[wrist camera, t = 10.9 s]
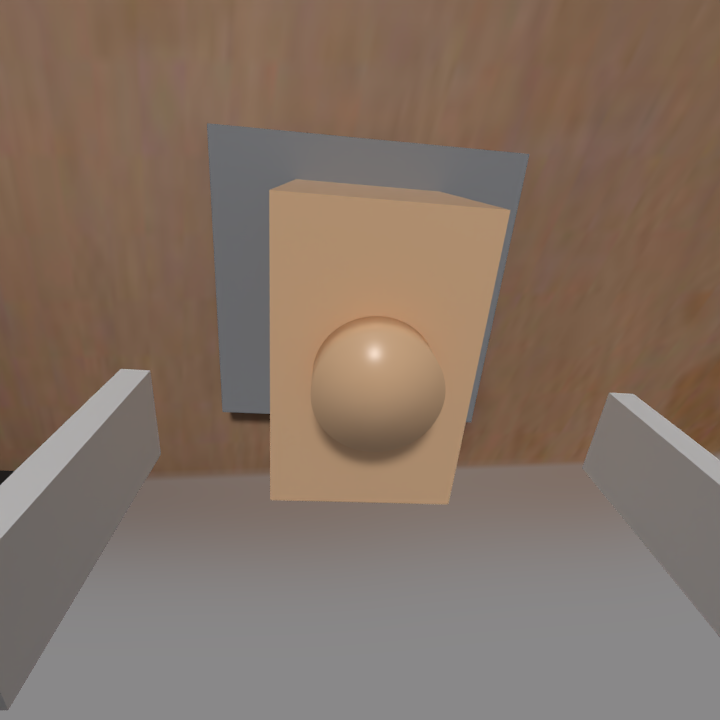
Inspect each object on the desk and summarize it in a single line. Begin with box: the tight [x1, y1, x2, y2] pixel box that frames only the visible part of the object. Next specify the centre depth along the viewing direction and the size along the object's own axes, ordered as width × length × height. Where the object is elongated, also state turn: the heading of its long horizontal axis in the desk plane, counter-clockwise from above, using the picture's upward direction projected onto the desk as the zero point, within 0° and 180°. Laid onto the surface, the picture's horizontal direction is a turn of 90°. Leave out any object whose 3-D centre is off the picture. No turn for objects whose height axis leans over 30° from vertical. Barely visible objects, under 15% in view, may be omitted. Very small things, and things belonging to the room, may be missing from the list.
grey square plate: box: [207, 123, 529, 422], centre depth 21 cm, size 16×16×10 cm
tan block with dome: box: [269, 179, 510, 504], centre depth 19 cm, size 12×7×12 cm, turn 175°
